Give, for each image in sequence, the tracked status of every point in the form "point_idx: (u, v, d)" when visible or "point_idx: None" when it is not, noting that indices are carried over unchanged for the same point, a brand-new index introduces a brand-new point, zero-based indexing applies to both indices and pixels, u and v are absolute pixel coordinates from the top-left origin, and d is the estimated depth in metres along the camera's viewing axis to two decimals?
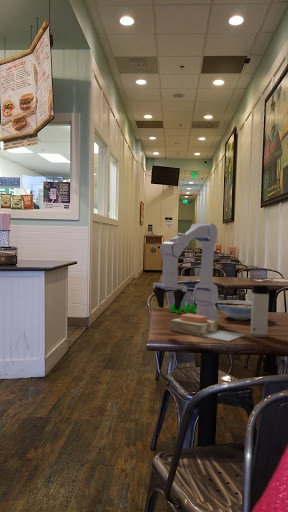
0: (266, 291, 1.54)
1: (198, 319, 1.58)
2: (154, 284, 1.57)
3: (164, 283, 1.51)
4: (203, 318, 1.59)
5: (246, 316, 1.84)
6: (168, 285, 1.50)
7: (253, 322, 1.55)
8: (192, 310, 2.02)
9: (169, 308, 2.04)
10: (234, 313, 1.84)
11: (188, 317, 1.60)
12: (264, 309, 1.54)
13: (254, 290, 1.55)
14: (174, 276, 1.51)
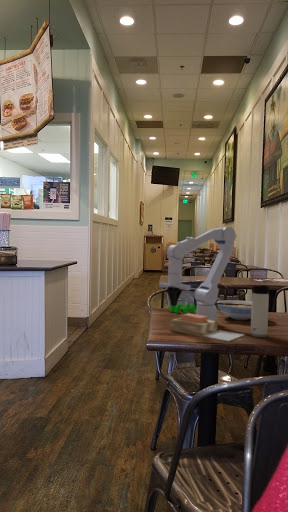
0: (266, 291, 1.54)
1: (198, 319, 1.58)
2: (160, 283, 1.71)
3: (170, 283, 1.66)
4: (203, 318, 1.59)
5: (246, 316, 1.84)
6: (173, 284, 1.65)
7: (253, 322, 1.55)
8: (191, 310, 2.02)
9: (168, 308, 2.05)
10: (234, 313, 1.84)
11: (188, 317, 1.60)
12: (264, 309, 1.54)
13: (254, 290, 1.55)
14: (178, 276, 1.66)
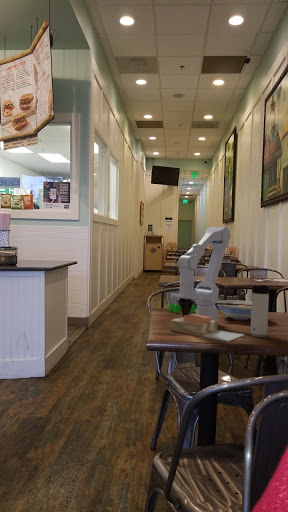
0: (266, 291, 1.54)
1: (201, 320, 1.57)
2: (172, 295, 1.68)
3: (181, 294, 1.63)
4: (206, 319, 1.58)
5: (246, 316, 1.84)
6: (185, 296, 1.62)
7: (253, 322, 1.55)
8: (191, 310, 2.03)
9: None
10: (234, 313, 1.84)
11: (191, 318, 1.60)
12: (264, 309, 1.54)
13: (254, 290, 1.55)
14: (190, 287, 1.62)
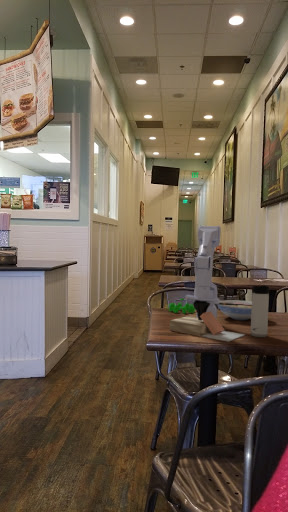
0: (266, 291, 1.54)
1: (214, 331, 1.53)
2: (186, 296, 1.63)
3: (197, 296, 1.58)
4: (219, 331, 1.55)
5: (246, 316, 1.84)
6: (201, 298, 1.57)
7: (253, 322, 1.55)
8: (190, 310, 2.03)
9: (167, 307, 2.06)
10: (234, 313, 1.84)
11: (208, 321, 1.55)
12: (264, 309, 1.54)
13: (254, 290, 1.55)
14: (206, 289, 1.58)
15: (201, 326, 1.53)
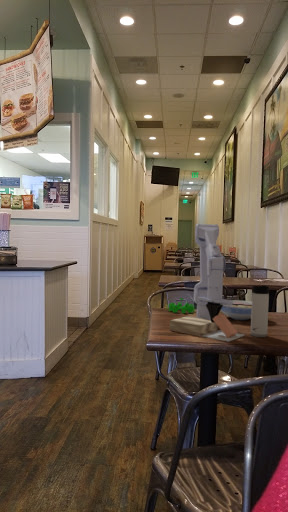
0: (266, 291, 1.54)
1: (229, 334, 1.49)
2: (198, 298, 1.60)
3: (210, 297, 1.55)
4: (233, 334, 1.51)
5: (246, 316, 1.84)
6: (214, 300, 1.54)
7: (253, 322, 1.55)
8: (189, 310, 2.03)
9: None
10: (234, 313, 1.84)
11: (221, 324, 1.51)
12: (264, 309, 1.54)
13: (254, 290, 1.55)
14: (219, 291, 1.54)
15: (201, 326, 1.53)
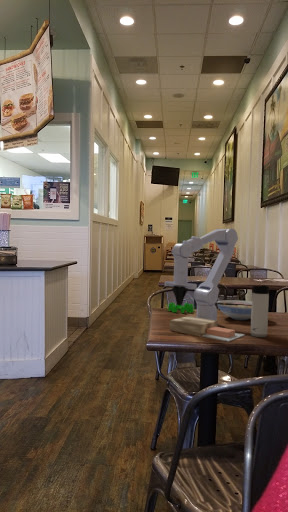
0: (266, 291, 1.54)
1: (226, 333, 1.50)
2: (166, 282, 1.70)
3: (175, 281, 1.65)
4: (231, 332, 1.52)
5: (246, 316, 1.84)
6: (179, 283, 1.64)
7: (253, 322, 1.55)
8: (189, 309, 2.04)
9: (166, 307, 2.07)
10: (234, 313, 1.84)
11: (215, 331, 1.53)
12: (264, 309, 1.54)
13: (254, 290, 1.55)
14: (184, 275, 1.65)
15: (201, 326, 1.53)
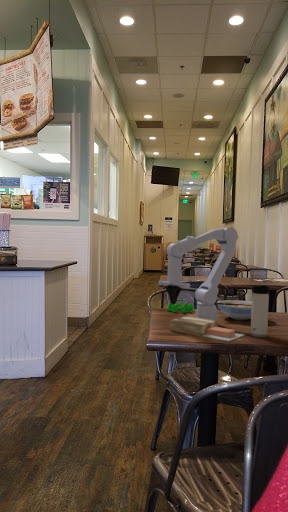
0: (266, 291, 1.54)
1: (226, 333, 1.50)
2: (160, 282, 1.73)
3: (169, 281, 1.68)
4: (231, 332, 1.52)
5: (246, 316, 1.84)
6: (173, 283, 1.67)
7: (253, 322, 1.55)
8: (188, 309, 2.04)
9: (166, 307, 2.07)
10: (234, 313, 1.84)
11: (215, 331, 1.53)
12: (264, 309, 1.54)
13: (254, 290, 1.55)
14: (178, 274, 1.67)
15: (201, 326, 1.53)
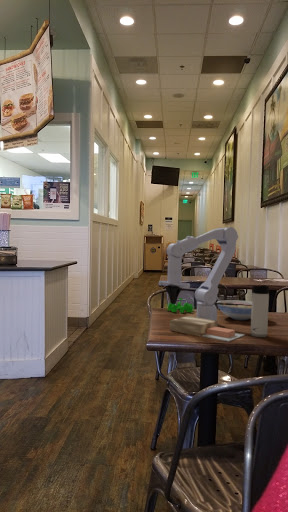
0: (266, 291, 1.54)
1: (226, 333, 1.50)
2: (160, 282, 1.73)
3: (169, 281, 1.68)
4: (231, 332, 1.52)
5: (246, 316, 1.84)
6: (173, 283, 1.67)
7: (253, 322, 1.55)
8: (188, 309, 2.04)
9: None
10: (234, 313, 1.84)
11: (215, 331, 1.53)
12: (264, 309, 1.54)
13: (254, 290, 1.55)
14: (178, 274, 1.67)
15: (201, 326, 1.53)
